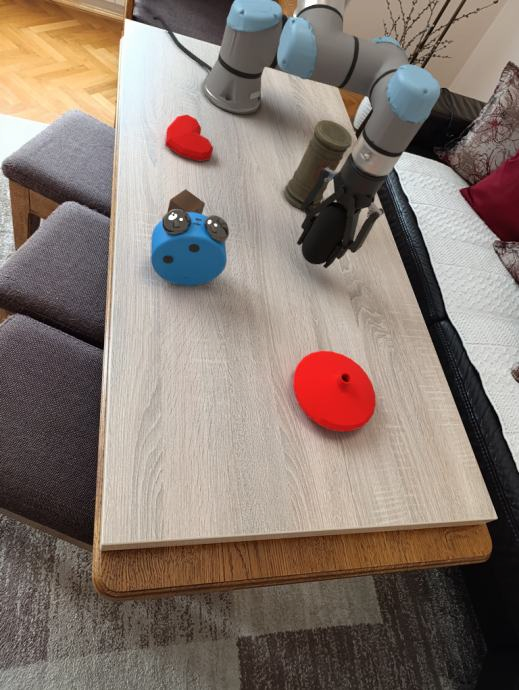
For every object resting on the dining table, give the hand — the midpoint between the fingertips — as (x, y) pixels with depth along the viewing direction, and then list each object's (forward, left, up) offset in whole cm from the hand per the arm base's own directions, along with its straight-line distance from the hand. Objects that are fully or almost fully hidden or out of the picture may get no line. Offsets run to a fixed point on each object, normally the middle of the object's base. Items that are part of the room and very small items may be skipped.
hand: (314, 253), depth 103 cm
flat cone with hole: (+27, -14, -5) cm, 31 cm away
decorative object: (0, 0, -2) cm, 2 cm away
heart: (-40, -9, -5) cm, 41 cm away
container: (-19, +12, -5) cm, 23 cm away
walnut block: (-19, -20, -4) cm, 28 cm away
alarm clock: (-6, -27, -5) cm, 28 cm away
